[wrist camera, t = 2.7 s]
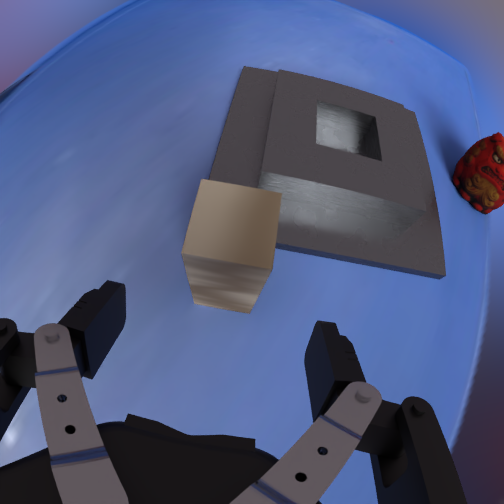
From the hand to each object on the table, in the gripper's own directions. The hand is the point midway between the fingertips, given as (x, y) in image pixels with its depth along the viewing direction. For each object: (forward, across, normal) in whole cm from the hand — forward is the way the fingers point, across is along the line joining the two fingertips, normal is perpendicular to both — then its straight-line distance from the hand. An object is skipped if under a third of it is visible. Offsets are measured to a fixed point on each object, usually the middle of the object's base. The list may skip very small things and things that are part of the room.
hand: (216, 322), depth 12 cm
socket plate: (+20, -8, -7) cm, 23 cm away
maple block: (+10, 0, +3) cm, 11 cm away
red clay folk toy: (+22, -26, -8) cm, 35 cm away
